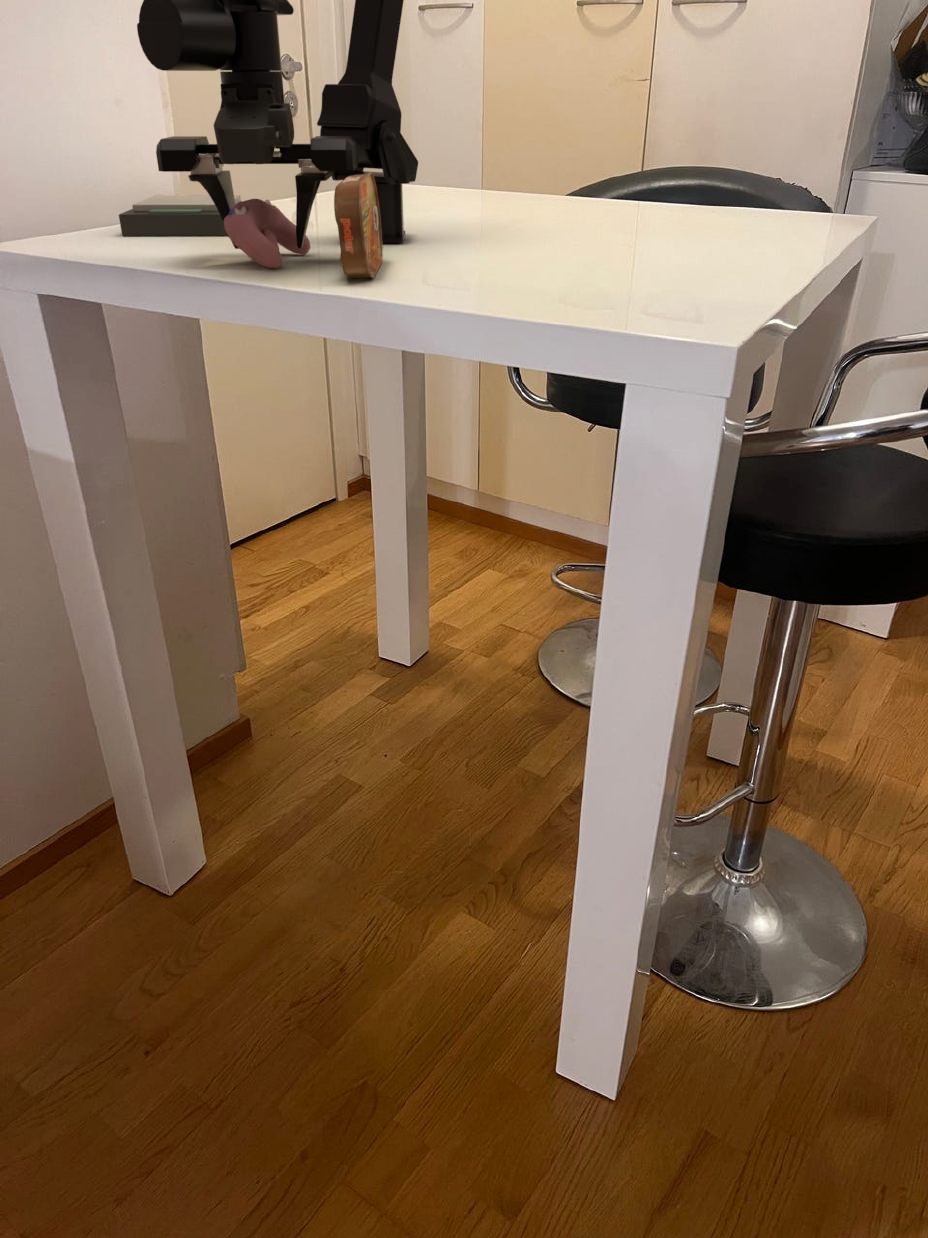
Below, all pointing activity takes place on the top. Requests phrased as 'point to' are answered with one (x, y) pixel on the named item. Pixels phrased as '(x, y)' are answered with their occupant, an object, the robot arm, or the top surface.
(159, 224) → the scale
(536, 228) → the top surface
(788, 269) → the top surface
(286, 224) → the video game controller
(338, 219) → the tin
